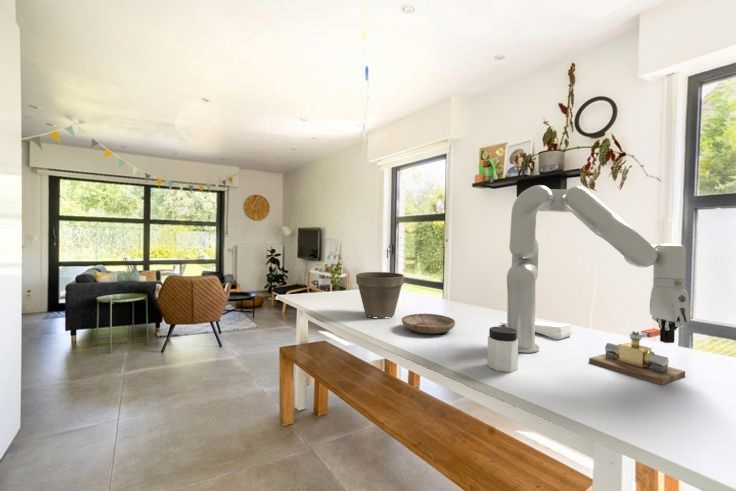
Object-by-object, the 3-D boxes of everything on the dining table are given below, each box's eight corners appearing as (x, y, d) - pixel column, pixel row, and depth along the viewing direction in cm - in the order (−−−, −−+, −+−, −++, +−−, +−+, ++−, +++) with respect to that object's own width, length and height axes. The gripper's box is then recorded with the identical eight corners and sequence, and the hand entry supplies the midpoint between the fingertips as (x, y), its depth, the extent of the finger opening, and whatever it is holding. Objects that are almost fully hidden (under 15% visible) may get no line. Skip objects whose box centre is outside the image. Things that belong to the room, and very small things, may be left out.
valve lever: (638, 340, 110) (638, 333, 110) (628, 338, 112) (628, 331, 112) (663, 334, 117) (663, 327, 117) (652, 332, 119) (653, 325, 119)
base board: (661, 385, 100) (661, 379, 100) (589, 362, 117) (589, 358, 117) (685, 376, 106) (685, 371, 106) (612, 356, 124) (613, 351, 124)
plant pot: (401, 322, 171) (402, 277, 170) (351, 320, 175) (351, 276, 174) (405, 312, 195) (405, 272, 195) (361, 310, 199) (361, 271, 199)
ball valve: (661, 374, 104) (661, 347, 103) (603, 357, 118) (603, 334, 117) (669, 371, 106) (670, 345, 106) (612, 355, 120) (612, 332, 120)
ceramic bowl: (391, 332, 154) (391, 320, 154) (416, 321, 174) (416, 311, 174) (442, 341, 141) (442, 328, 141) (463, 328, 160) (463, 317, 160)
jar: (487, 370, 110) (488, 331, 110) (487, 361, 118) (487, 325, 117) (519, 373, 107) (519, 334, 107) (516, 364, 115) (517, 327, 115)
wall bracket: (502, 338, 166) (562, 345, 143) (498, 323, 166) (558, 328, 142) (514, 329, 172) (574, 335, 148) (510, 315, 171) (570, 319, 148)
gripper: (703, 287, 104) (701, 349, 104) (660, 280, 119) (659, 335, 119) (677, 286, 104) (675, 349, 104) (638, 280, 119) (636, 335, 119)
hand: (667, 342), depth 112 cm, fingers closed
